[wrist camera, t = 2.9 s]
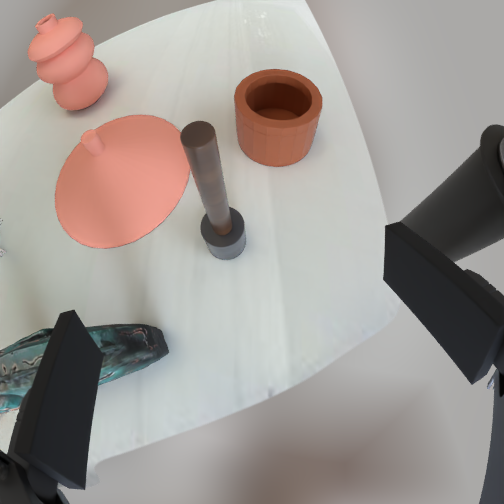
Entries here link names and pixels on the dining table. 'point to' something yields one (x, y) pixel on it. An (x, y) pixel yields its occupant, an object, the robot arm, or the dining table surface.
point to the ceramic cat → (107, 339)
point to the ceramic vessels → (107, 148)
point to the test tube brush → (1, 249)
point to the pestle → (213, 192)
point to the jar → (276, 116)
